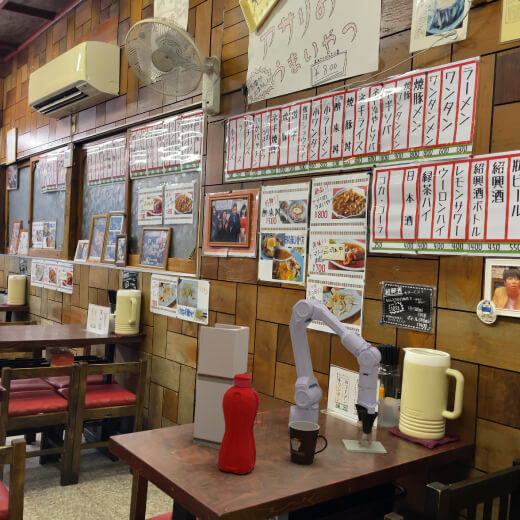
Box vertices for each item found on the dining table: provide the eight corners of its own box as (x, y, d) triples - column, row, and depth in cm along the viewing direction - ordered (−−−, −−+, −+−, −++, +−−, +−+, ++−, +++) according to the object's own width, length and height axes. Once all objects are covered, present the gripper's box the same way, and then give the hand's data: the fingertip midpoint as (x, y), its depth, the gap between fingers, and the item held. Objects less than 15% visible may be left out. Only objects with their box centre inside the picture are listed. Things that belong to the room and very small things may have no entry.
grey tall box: (242, 440, 167) (249, 327, 167) (227, 450, 157) (235, 330, 157) (209, 434, 171) (216, 323, 171) (193, 443, 161) (200, 326, 162)
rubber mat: (347, 451, 163) (347, 449, 163) (342, 441, 172) (342, 439, 172) (386, 453, 164) (386, 451, 164) (379, 443, 173) (379, 441, 173)
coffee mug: (281, 456, 155) (283, 421, 155) (308, 454, 159) (310, 420, 159) (300, 472, 145) (302, 434, 145) (328, 469, 148) (330, 432, 148)
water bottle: (254, 478, 139) (260, 380, 139) (214, 471, 141) (220, 375, 142) (264, 466, 147) (269, 374, 148) (226, 459, 150) (231, 369, 150)
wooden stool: (357, 444, 165) (358, 425, 165) (353, 439, 170) (355, 420, 171) (374, 445, 166) (375, 425, 166) (370, 440, 171) (371, 421, 171)
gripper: (386, 393, 161) (383, 439, 161) (375, 382, 175) (372, 424, 175) (362, 391, 161) (359, 437, 161) (353, 381, 175) (350, 422, 175)
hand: (364, 430), depth 168 cm, fingers closed on wooden stool, 5 cm apart
